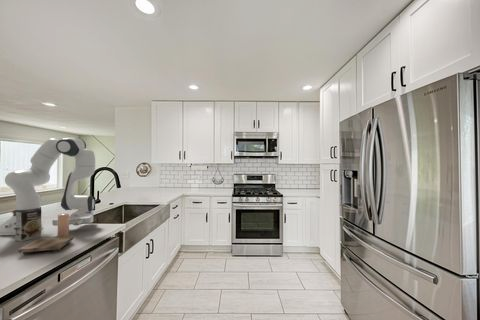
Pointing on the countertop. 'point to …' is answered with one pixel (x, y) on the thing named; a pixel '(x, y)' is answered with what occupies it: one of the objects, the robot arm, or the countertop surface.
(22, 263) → the countertop surface
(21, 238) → the coffee box
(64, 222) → the terracotta canister
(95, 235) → the countertop surface
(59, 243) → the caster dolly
